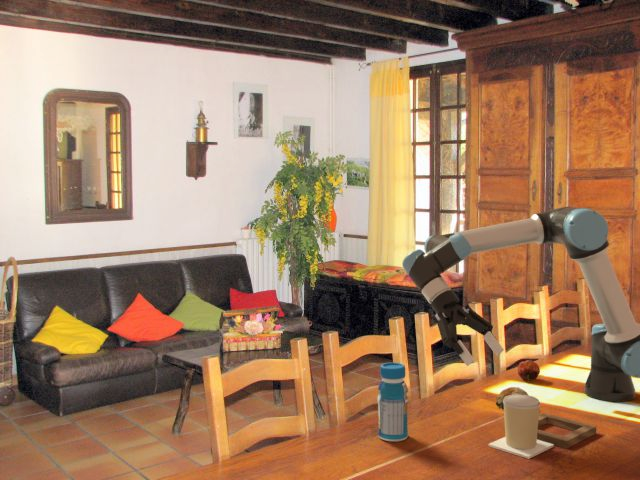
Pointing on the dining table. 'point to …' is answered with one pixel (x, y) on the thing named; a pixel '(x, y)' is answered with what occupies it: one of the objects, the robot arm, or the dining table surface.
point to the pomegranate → (528, 370)
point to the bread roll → (506, 393)
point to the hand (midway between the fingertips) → (486, 357)
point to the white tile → (525, 453)
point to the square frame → (568, 440)
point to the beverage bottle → (392, 403)
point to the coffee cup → (521, 421)
